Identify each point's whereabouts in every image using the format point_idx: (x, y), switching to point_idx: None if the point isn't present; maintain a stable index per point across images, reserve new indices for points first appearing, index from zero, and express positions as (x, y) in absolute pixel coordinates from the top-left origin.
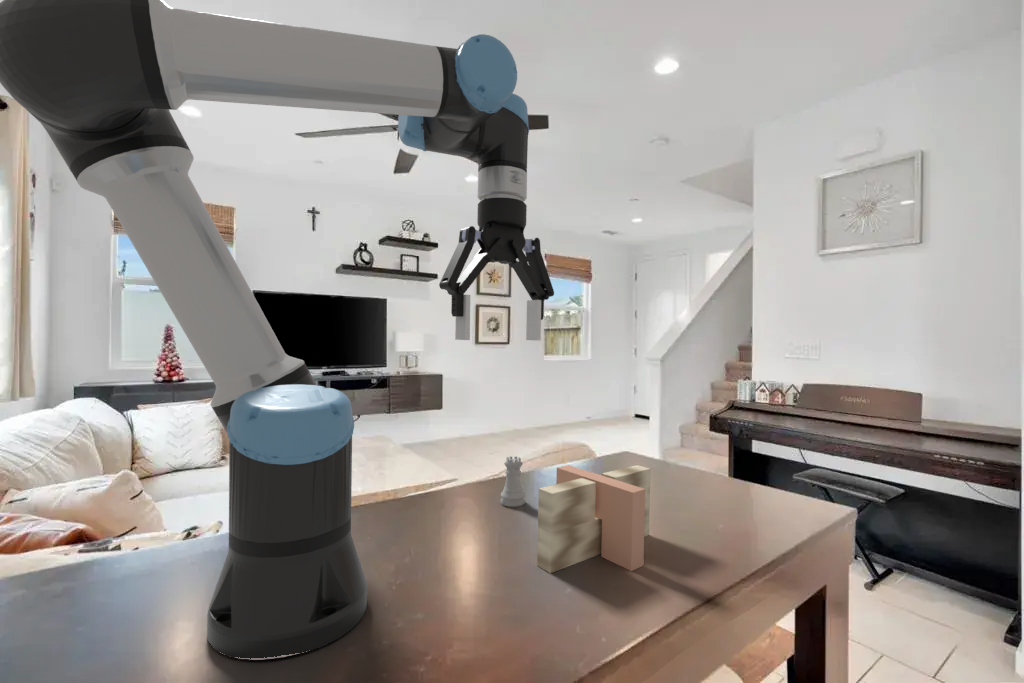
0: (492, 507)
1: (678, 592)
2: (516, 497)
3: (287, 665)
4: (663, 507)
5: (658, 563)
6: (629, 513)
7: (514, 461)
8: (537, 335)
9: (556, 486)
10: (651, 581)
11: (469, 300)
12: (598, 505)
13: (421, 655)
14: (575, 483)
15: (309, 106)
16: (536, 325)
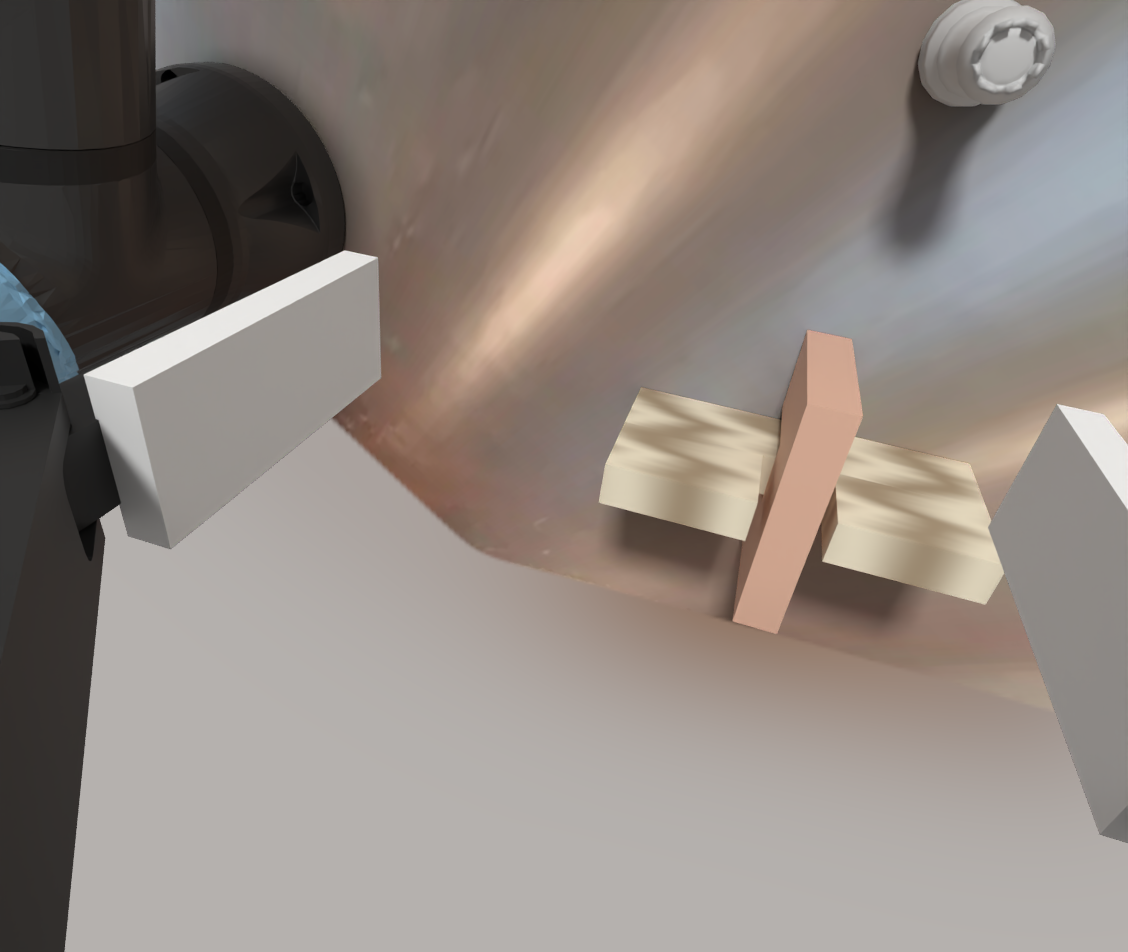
0: (884, 26)
1: (727, 594)
2: (943, 98)
3: None
4: None
5: (811, 548)
6: (738, 584)
7: (988, 78)
8: (1001, 552)
9: (648, 487)
10: (733, 557)
11: (199, 517)
12: (762, 509)
13: (358, 409)
14: (703, 508)
15: None
16: (1025, 599)
